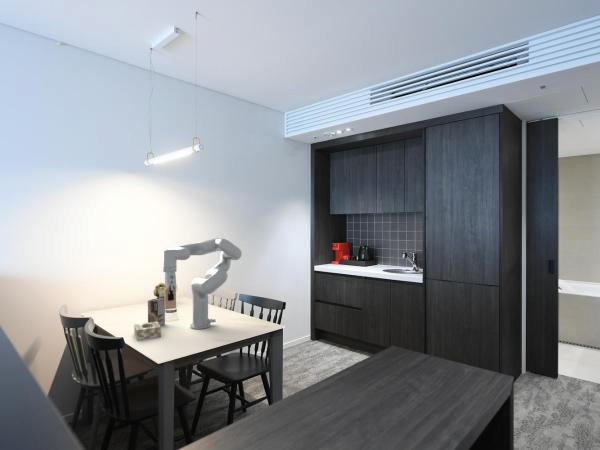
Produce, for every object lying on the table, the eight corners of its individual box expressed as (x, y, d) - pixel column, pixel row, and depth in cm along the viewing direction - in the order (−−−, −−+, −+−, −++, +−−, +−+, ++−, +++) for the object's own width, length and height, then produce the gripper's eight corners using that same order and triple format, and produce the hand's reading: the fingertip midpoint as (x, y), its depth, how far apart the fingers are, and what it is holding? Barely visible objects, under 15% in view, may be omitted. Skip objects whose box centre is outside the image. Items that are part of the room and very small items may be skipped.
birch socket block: (157, 330, 226) (157, 321, 226) (160, 336, 214) (160, 327, 214) (134, 333, 219) (134, 324, 219) (136, 339, 208) (136, 330, 208)
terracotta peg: (174, 306, 223) (174, 287, 222) (175, 308, 219) (175, 288, 219) (164, 307, 220) (164, 288, 219) (165, 309, 216) (165, 289, 216)
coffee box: (165, 324, 239) (165, 299, 239) (157, 326, 233) (157, 301, 233) (155, 322, 243) (155, 298, 243) (147, 325, 237) (147, 300, 237)
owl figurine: (148, 302, 300) (148, 282, 300) (162, 300, 308) (162, 280, 308) (157, 306, 287) (157, 284, 287) (172, 304, 296) (172, 283, 296)
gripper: (179, 270, 213) (179, 301, 214) (173, 267, 228) (173, 296, 228) (165, 271, 210) (166, 303, 210) (161, 267, 224) (161, 297, 225)
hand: (170, 299), depth 219 cm, fingers closed on terracotta peg, 4 cm apart
